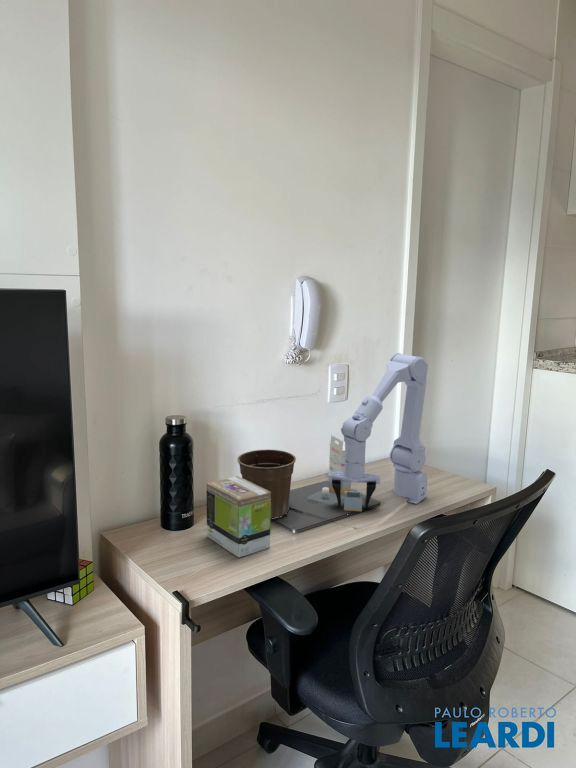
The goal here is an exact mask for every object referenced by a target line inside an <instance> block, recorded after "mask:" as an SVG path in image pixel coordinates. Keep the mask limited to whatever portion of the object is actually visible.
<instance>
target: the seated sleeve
mask: <svg viewBox="0 0 576 768" xmlns="http://www.w3.org/2000/svg"><path fill="white" fill-rule="evenodd" d="M334 473H341V472H339V471H336V472H334ZM327 482H328V486H327V487H328V488H329V491H331V492H335V491H334V489H333V487H332V482H329V481H327ZM351 485H352V482H344V481H341V494H344V493H345V491H349V490H351V489H352V488H351V487H352V486H351Z"/></svg>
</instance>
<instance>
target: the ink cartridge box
mask: <svg viewBox="0 0 576 768" xmlns="http://www.w3.org/2000/svg"><path fill="white" fill-rule="evenodd" d="M329 442H330V444H329V464H328V465H329V469H328V470H329V471H328V474H329V473H334V472H336V471H339V472H344V463H345V442H344V440H342V439H340V438H338V437H337V436H334V435H331V436H330V441H329Z"/></svg>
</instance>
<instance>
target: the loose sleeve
mask: <svg viewBox="0 0 576 768" xmlns="http://www.w3.org/2000/svg"><path fill="white" fill-rule="evenodd" d="M343 500H344V501H343V503H344V504H343V511H346V512H347V511H348V512H349V511H350V512H362V511H363V492H362V491H356V492H353V491H345V497H344V499H343Z"/></svg>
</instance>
